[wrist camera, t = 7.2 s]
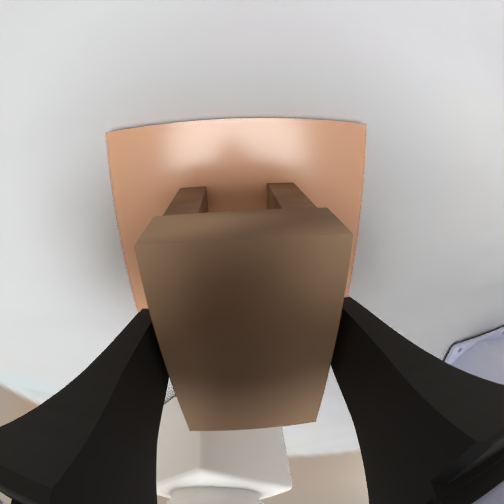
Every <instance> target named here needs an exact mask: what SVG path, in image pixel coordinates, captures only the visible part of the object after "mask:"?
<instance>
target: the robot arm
mask: <svg viewBox="0 0 504 504" xmlns="http://www.w3.org/2000/svg"><path fill="white" fill-rule="evenodd" d="M331 367H332V369H333V372H334V375H335V377H336V380H337V382H338V385H339V387H340V390H341V392H342V394H343V397H344V399H345V402H346V404H347V407H348V409H349V412H350V414H351V417H352V420H353V423H354V426H355V429H356V433H357V437H358V441H359V445H360V450H361V454H362V459H363V463H364V469H365V475H366V481H367V488H368V496H369V504H504V327H502V328H500V329H497V330H494V331H492V332H489V333H487V334H484V335H481V336H479V337H476V338H473V339H470V340H467V341H464V342H461V343H458V344H455V345H454V346H453V347H452V348H451V350H450V351H449V353H448V355H447V357H446V359H445V361H442V360H440V359H438V358H437V357H435V356H433V355H431V354H429V353H428V352H426V351H424V350H423V349H421V348H420V347H418V346H416V345H415V344H413V343H412V342H410V341H409V340H407V339H406V338H404V337H403V336H402V335H400V334H399V333H397V332H396V331H395V330H393V329H392V328H391V327H389V326H388V325H387V324H385V323H384V322H383V321H381V320H380V319H379V318H377V317H376V316H375V315H373V314H372V313H371V312H370V311H368V310H367V309H366V308H364V307H363V306H362V305H361V304H359V303H358V302H356V301H355V300H354V299H352V298H351V297H344V301H343V307H342V312H341V317H340V323H339V328H338V333H337V338H336V342H335V347H334V351H333V356H332V360H331ZM168 380H169V374H168V371H167V368H166V365H165V362H164V359H163V356H162V353H161V350H160V347H159V343H158V340H157V337H156V333H155V330H154V326H153V323H152V319H151V316H150V312H149V309H142V310H141V311H140V312H139V313H138V314H137V315H136V316H135V317H134V318H133V319H132V320H131V322H130V323H129V324H128V325H127V326H126V327H125V328H124V329H123V331H122V332H121V333H120V334H119V335H118V336H117V337H116V338H115V339H114V341H113V342H112V343H111V344H110V345H109V346H108V347H107V348H106V349H105V350H104V351H103V352H102V353H101V354H100V355H99V356H98V357H97V358H96V359H95V360H94V361H93V362H92V363H91V364H90V365H89V366H88V367H87V368H86V369H85V370H84V371H83V372H82V373H81V374H80V375H79V376H77V377H76V378H75V379H74V380H73V381H72V382H70V383H69V384H68V385H67V386H66V387H64V388H63V389H62V390H60V391H59V392H58V393H56V394H55V395H53V396H52V397H51V398H49V399H48V400H46V401H45V402H44V403H42V404H41V405H39V406H38V407H36V408H35V409H33V410H32V411H30V412H28V413H27V414H25V415H23V416H21V417H19V418H17V419H16V420H14V421H12V422H10V423H8V424H6V425H3V426H1V427H0V492H2V493H3V494H5V495H6V496H8V497H10V498H11V499H12V502H11V504H157V488H156V463H157V441H158V433H159V427H160V421H161V416H162V411H163V406H164V400H165V395H166V390H167V385H168ZM0 504H7V503H5V502H3V501H1V500H0Z"/></svg>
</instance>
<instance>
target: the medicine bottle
mask: <svg viewBox="0 0 504 504" xmlns="http://www.w3.org/2000/svg"><path fill="white" fill-rule="evenodd" d="M156 488H157V495H160V496H164V497H168V498H171V499H170V500H168V501H167V504H264V503H263V502H261V501H259V500H260V499H264V498H267V497H270V496H274V495H277V494H280V493H282V492H285V491H288V490H290V489H291V488H292V480H291V475H290V469H289V464H288V458H287V452H286V447H285V441H284V435H283V430H282V426H281V427H271V428H261V429H248V430H229V431H190V430H189V428H188V425H187V423H186V420H185V418H184V415H183V413H182V410H181V408H180V405H179V402H178V400H177V397H176V396H175V397H174V398H172V399H171V400H170V401H168V402H167V403H166V404H164V406H163V411H162V416H161V421H160V427H159V433H158V441H157V463H156Z"/></svg>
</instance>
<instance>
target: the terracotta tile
mask: <svg viewBox="0 0 504 504" xmlns="http://www.w3.org/2000/svg"><path fill="white" fill-rule="evenodd" d="M106 143H107V153H108V163H109V171H110V179H111V186H112V193H113V200H114V206H115V212H116V218H117V224H118V229H119V234H120V239H121V244H122V249H123V254H124V258H125V263H126V267H127V272H128V276H129V280H130V284H131V288H132V292H133V296H134V299H135V303H136V307H137V310H138V313H139V312H140V311H141V310H142V309H149V308H148V305H147V301H146V297H145V293H144V289H143V285H142V280H141V276H140V272H139V267H138V263H137V258H136V253H135V249H134V245H135V243H136V242H137V240H138V239H139V237H140V236H141V234H142V233H143V231H144V230H145V228H146V227H147V225H148V224H149V222H150V221H151V220H152V218H153V217H154V216H163V214H164V212H165V211H166V209H167V208H168V206H169V205H170V203H171V201H172V200H173V198H174V197H175V195H176V194H177V192H178V191H179V189H180V188H188V187H201V186H206V188H207V202H208V212H224V211H242V210H263V209H267V183H294V184H295V185H296V186H297V187H298V188H299V189H300V190H301V191H302V192H303V193H304V194H305V195H306V196H307V197H308V198H309V199H310V200H311V201H312V202H313V203H314V205H315V206H316V207H317V208H328V209H329V210H330V211H331V212H332V213H333V214H334V215H335V216H336V217H337V218H338V219H339V220H340V221H341V222H342V223H343V224H344V225H345V226H346V227H347V228H348V229H349V230H350V231H351V232H352V233H353V241H352V249H351V256H350V263H349V270H348V277H347V283H346V289H345V295H344V297H347V296H348V291H349V285H350V279H351V274H352V267H353V261H354V255H355V248H356V241H357V233H358V225H359V217H360V208H361V198H362V187H363V175H364V162H365V144H366V124H364V123H355V122H344V121H332V120H318V119H297V118H233V119H212V120H197V121H185V122H175V123H166V124H157V125H149V126H142V127H135V128H129V129H123V130H117V131H111V132H106Z"/></svg>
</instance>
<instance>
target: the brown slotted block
mask: <svg viewBox="0 0 504 504" xmlns="http://www.w3.org/2000/svg"><path fill="white" fill-rule="evenodd" d="M352 241H353V233H352V232H351V231H350V230H349V229H348V228H347V227H346V226H345V225H344V224H343V223H342V222H341V221H340V220H339V219H338V218H337V217H336V216H335V215H334V214H333V213H332V212H331V211H330V210H329V209H328V208H317V207H316V206H315V205H314V203H313V202H312V201H311V200H310V199H309V198H308V197H307V196H306V195H305V194H304V193H303V192H302V191H301V190H300V189H299V188H298V187H297V186H296V185H295V184H294V183H267V209H263V210H242V211H224V212H208V202H207V188H206V186H201V187H188V188H180V189H179V191H178V192H177V194H176V195H175V197H174V198H173V200H172V201H171V203H170V205H169V206H168V208H167V209H166V211H165V212H164V214H163V216H154V217H153V218H152V220H151V221H150V222H149V224H148V225H147V227H146V228H145V230H144V231H143V233H142V234H141V236H140V237H139V239H138V240H137V242H136V243H135V245H134V249H135V253H136V258H137V263H138V267H139V272H140V276H141V280H142V285H143V289H144V293H145V297H146V301H147V305H148V308H149V312H150V316H151V319H152V323H153V326H154V330H155V333H156V337H157V340H158V343H159V347H160V350H161V353H162V356H163V359H164V362H165V365H166V368H167V371H168V374H169V377H170V380H171V383H172V386H173V389H174V391H175V394H176V397H177V400H178V402H179V405H180V408H181V410H182V413H183V415H184V418H185V420H186V423H187V425H188V428H189V430H190V431H229V430H248V429H261V428H271V427H281V426H289V425H296V424H303V423H310V422H316V418H317V415H318V411H319V408H320V404H321V400H322V397H323V393H324V389H325V385H326V381H327V377H328V373H329V369H330V365H331V360H332V356H333V351H334V347H335V342H336V338H337V333H338V328H339V323H340V317H341V312H342V307H343V301H344V295H345V289H346V283H347V277H348V270H349V263H350V256H351V249H352Z"/></svg>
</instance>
